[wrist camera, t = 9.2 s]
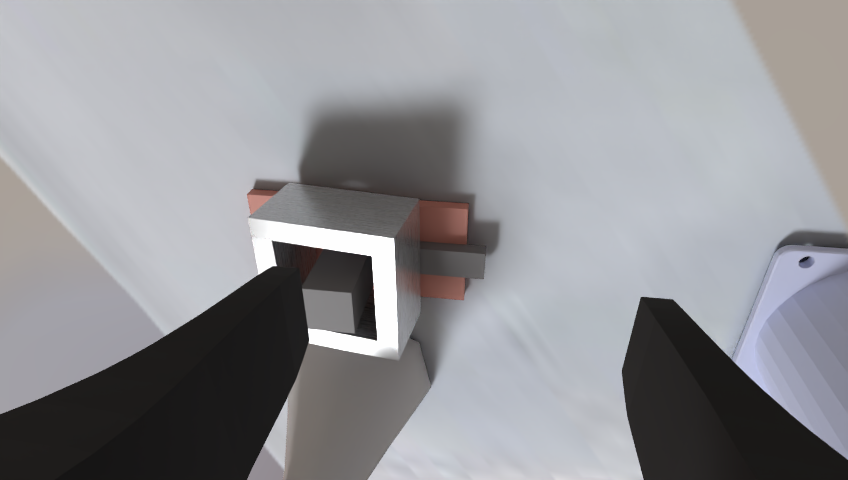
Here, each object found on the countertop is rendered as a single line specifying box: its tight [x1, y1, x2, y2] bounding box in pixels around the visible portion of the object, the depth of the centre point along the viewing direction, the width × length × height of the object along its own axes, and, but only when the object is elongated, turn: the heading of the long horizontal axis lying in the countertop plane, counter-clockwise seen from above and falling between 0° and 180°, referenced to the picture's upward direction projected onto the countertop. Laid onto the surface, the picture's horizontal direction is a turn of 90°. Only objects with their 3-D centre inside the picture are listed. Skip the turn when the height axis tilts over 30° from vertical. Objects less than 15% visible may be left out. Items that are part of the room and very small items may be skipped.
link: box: [248, 183, 421, 361], centre depth 21 cm, size 5×5×3 cm
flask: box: [283, 338, 431, 480], centre depth 23 cm, size 7×7×10 cm
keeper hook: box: [247, 189, 486, 334], centre depth 21 cm, size 10×4×5 cm, turn 90°
